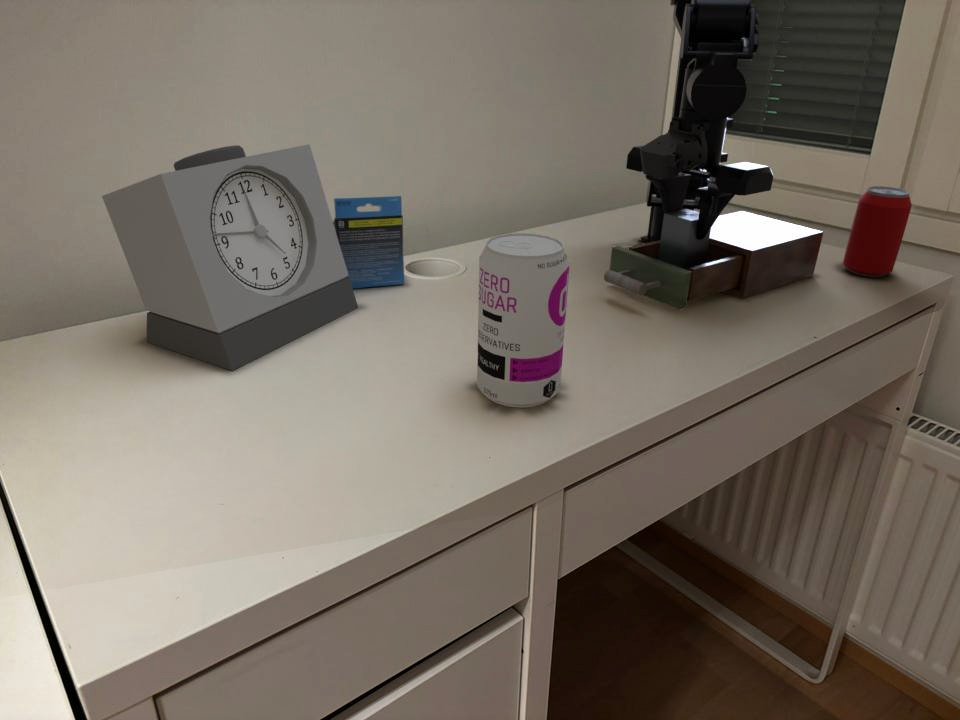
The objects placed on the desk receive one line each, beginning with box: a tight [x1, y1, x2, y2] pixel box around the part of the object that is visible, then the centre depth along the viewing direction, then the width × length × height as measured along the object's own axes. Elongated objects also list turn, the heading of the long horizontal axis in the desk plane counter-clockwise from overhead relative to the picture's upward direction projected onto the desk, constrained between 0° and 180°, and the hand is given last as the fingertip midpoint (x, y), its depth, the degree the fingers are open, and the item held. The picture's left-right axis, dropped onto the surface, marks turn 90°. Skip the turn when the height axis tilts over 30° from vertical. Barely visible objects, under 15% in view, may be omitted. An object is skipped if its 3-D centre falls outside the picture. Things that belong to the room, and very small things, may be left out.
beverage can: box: [842, 185, 913, 278], centre depth 102 cm, size 7×7×12 cm
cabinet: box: [709, 210, 824, 299], centre depth 102 cm, size 17×14×7 cm
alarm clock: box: [101, 143, 359, 372], centre depth 80 cm, size 20×16×20 cm
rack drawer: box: [603, 240, 746, 311], centre depth 94 cm, size 20×12×5 cm, turn 126°
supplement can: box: [476, 232, 571, 409], centre depth 67 cm, size 8×8×15 cm
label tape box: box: [332, 195, 405, 290], centre depth 94 cm, size 9×4×12 cm, turn 106°
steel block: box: [658, 209, 711, 270], centre depth 93 cm, size 4×4×8 cm
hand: (685, 234), depth 93 cm, fingers closed on steel block, 4 cm apart
